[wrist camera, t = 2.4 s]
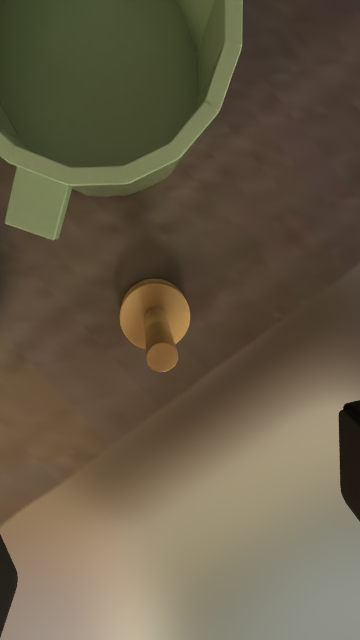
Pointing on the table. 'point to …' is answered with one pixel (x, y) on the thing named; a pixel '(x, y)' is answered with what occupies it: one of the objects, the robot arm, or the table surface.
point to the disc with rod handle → (155, 320)
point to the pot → (106, 95)
